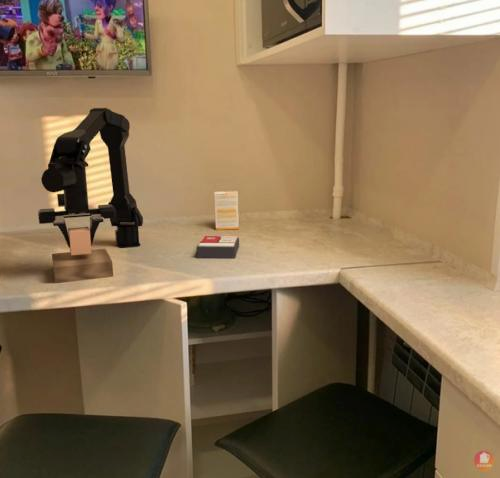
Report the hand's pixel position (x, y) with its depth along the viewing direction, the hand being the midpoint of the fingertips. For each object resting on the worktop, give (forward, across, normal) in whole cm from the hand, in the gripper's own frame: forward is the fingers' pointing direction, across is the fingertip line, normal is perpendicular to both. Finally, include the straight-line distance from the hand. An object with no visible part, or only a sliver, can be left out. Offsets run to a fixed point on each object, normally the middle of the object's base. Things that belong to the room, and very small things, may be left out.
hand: (80, 246), depth 143 cm
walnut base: (+7, 0, 0) cm, 7 cm away
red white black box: (+8, -40, -6) cm, 41 cm away
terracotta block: (+2, 0, 0) cm, 2 cm away
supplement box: (+7, -52, -35) cm, 63 cm away
